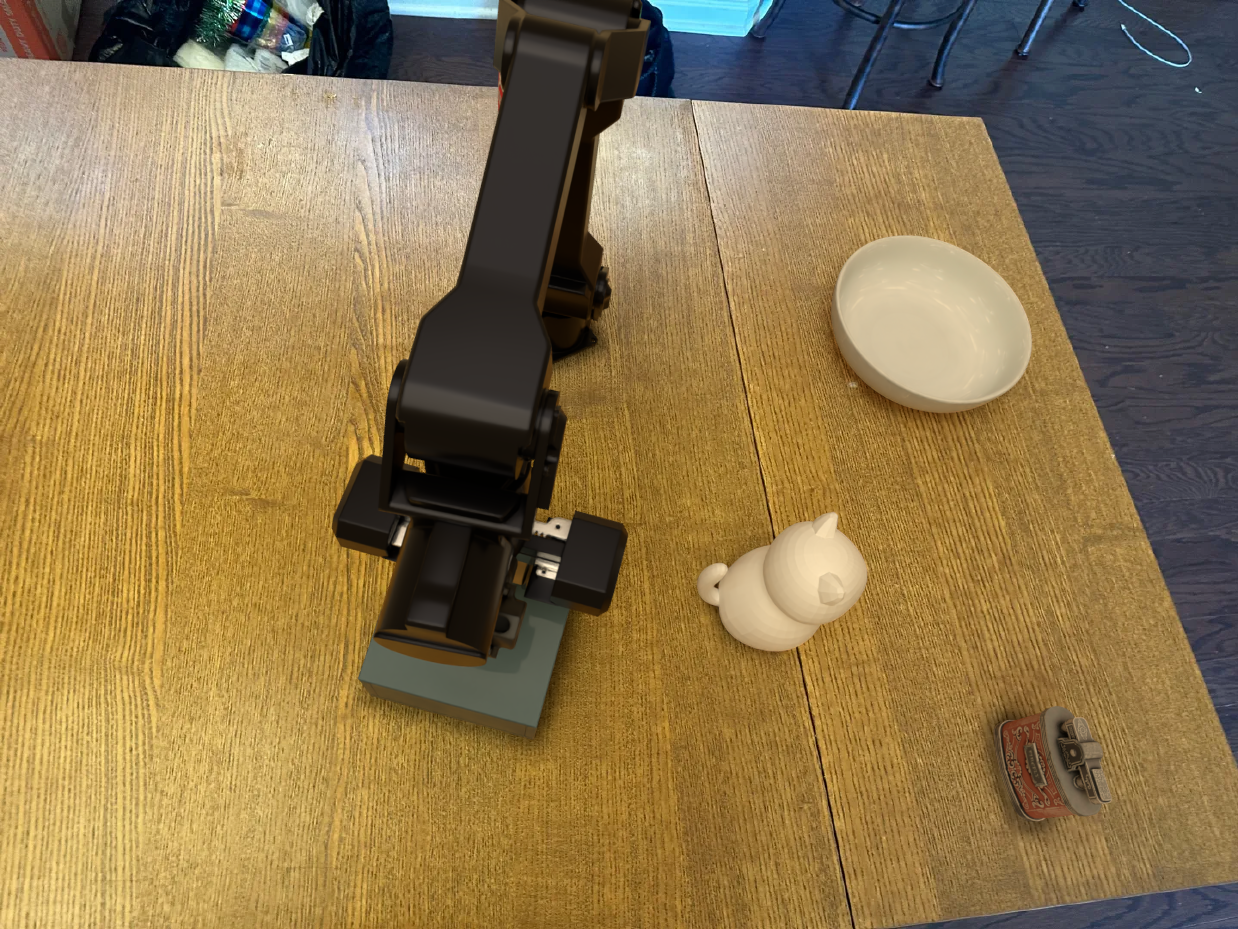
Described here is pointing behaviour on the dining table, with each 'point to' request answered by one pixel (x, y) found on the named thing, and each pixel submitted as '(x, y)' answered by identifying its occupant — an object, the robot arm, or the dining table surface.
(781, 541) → the cat figurine
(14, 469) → the dining table surface
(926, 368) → the serving bowl
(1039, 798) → the lighter
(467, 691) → the chest lid
